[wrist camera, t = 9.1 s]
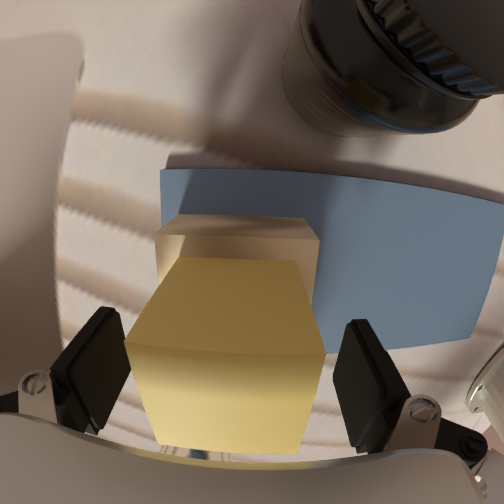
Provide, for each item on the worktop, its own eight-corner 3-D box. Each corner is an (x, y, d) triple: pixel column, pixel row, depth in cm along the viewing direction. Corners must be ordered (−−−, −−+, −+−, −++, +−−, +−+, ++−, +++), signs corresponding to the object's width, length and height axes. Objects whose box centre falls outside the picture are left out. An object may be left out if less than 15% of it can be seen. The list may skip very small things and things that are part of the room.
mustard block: (295, 260, 12) (325, 352, 6) (285, 352, 14) (297, 452, 8) (178, 256, 12) (123, 341, 6) (187, 347, 14) (158, 443, 8)
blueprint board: (502, 203, 15) (508, 206, 15) (465, 333, 19) (469, 337, 19) (164, 169, 15) (160, 169, 15) (176, 341, 19) (174, 348, 19)
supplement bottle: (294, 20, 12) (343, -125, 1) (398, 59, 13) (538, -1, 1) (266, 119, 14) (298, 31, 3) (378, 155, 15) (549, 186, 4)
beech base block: (304, 218, 15) (319, 240, 12) (292, 325, 18) (300, 366, 14) (177, 213, 15) (154, 234, 12) (184, 320, 18) (169, 360, 14)
